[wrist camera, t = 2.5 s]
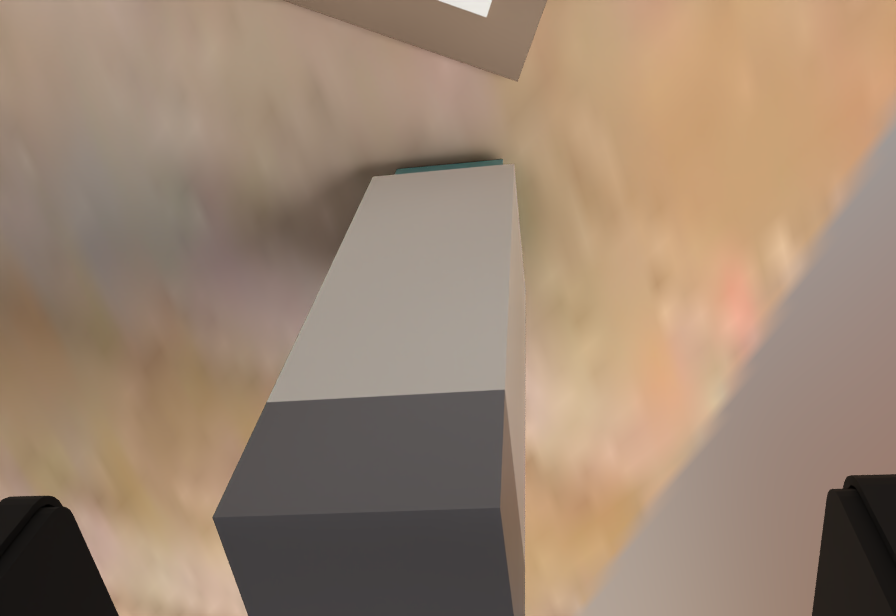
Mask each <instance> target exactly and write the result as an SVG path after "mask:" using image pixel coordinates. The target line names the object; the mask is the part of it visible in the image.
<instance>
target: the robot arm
mask: <svg viewBox="0 0 896 616" xmlns="http://www.w3.org/2000/svg"><path fill="white" fill-rule="evenodd" d="M0 616H119V615H118V613H117V611H116V609H115V606H114V604H113V602H112V600H111V598H110V595H109V593H108V591H107V589H106V586H105V584H104V582H103V580H102V578H101V575H100V573H99V571H98V569H97V567H96V564H95V562H94V560H93V558H92V556H91V553H90V551H89V549H88V547H87V544H86V542H85V540H84V538H83V536H82V533H81V531H80V529H79V527H78V525H77V522H76V520H75V518H74V516H73V514H72V512H71V511H70V510H69V509H68V508H66V507H63V506H62V504H61V503H60V501H59V500H58V499H56V498H55V497H53V496H20V497H8V498H5V499H3V500H2V501H1V502H0ZM812 616H896V474H891V475H851V476H848V477H847V478H846V480H845V482H844V486H843V489H831V490H830V491H829V492H828V495H827V501H826V509H825V517H824V524H823V533H822V540H821V548H820V556H819V564H818V573H817V580H816V588H815V596H814V605H813V612H812Z"/></svg>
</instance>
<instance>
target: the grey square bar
mask: <svg viewBox="0 0 896 616" xmlns="http://www.w3.org/2000/svg"><path fill="white" fill-rule="evenodd" d="M525 357H526V288H525V277H524V266H523V255H522V244H521V233H520V222H519V211H518V200H517V189H516V177H515V166H514V164H504V165H503V159H500V160H489V161H479V162H468V163H457V164H446V165H436V166H425V167H414V168H404V169H397V170H396V173H395V175H385V176H374V177H372V179H371V182H370V184H369V186H368V188H367V190H366V192H365V194H364V196H363V199H362V201H361V203H360V205H359V207H358V209H357V211H356V213H355V216H354V218H353V220H352V222H351V224H350V226H349V228H348V230H347V233H346V235H345V237H344V239H343V241H342V243H341V245H340V247H339V250H338V252H337V254H336V256H335V258H334V260H333V262H332V264H331V267H330V269H329V271H328V273H327V275H326V277H325V279H324V281H323V284H322V286H321V288H320V290H319V292H318V294H317V296H316V298H315V301H314V303H313V305H312V307H311V309H310V311H309V313H308V315H307V318H306V320H305V322H304V324H303V326H302V328H301V330H300V332H299V335H298V337H297V339H296V341H295V343H294V345H293V347H292V350H291V352H290V354H289V356H288V358H287V360H286V362H285V364H284V367H283V369H282V371H281V373H280V375H279V377H278V379H277V381H276V384H275V386H274V388H273V390H272V392H271V394H270V396H269V398H268V401H267V403H266V405H265V407H264V409H263V411H262V413H261V415H260V418H259V420H258V422H257V424H256V426H255V428H254V430H253V432H252V435H251V437H250V439H249V441H248V443H247V445H246V447H245V449H244V452H243V454H242V456H241V458H240V460H239V462H238V464H237V466H236V469H235V471H234V473H233V475H232V477H231V479H230V481H229V483H228V486H227V488H226V490H225V492H224V494H223V496H222V498H221V500H220V503H219V505H218V507H217V509H216V511H215V513H214V515H213V520H214V523H215V526H216V528H217V531H218V534H219V537H220V539H221V542H222V545H223V548H224V550H225V553H226V556H227V559H228V561H229V564H230V567H231V570H232V572H233V575H234V578H235V580H236V583H237V586H238V589H239V591H240V594H241V597H242V600H243V602H244V605H245V608H246V611H247V613H248V616H525Z"/></svg>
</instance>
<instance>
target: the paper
mask: <svg viewBox="0 0 896 616" xmlns="http://www.w3.org/2000/svg"><path fill="white" fill-rule="evenodd" d="M438 1H441V2H444V3H447V4H450V5H452V6H455V7H458V8H461V9H464V10H467V11H469V12H472V13H475V14H478V15H481V16H484V17H487V14H488V11H489V8H490V5H491V2H492V0H438Z"/></svg>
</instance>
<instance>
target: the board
mask: <svg viewBox="0 0 896 616" xmlns="http://www.w3.org/2000/svg"><path fill="white" fill-rule="evenodd" d="M284 1H287V2H290V3H293V4H295V5H298V6H301V7H304V8H307V9H310V10H313V11H316V12H318V13H321V14H324V15H327V16H330V17H333V18H336V19H339V20H341V21H344V22H347V23H350V24H353V25H356V26H359V27H362V28H365V29H367V30H370V31H373V32H376V33H379V34H382V35H385V36H388V37H390V38H393V39H396V40H399V41H402V42H405V43H408V44H411V45H413V46H416V47H419V48H422V49H425V50H428V51H431V52H434V53H437V54H439V55H442V56H445V57H448V58H451V59H454V60H457V61H460V62H462V63H465V64H468V65H471V66H474V67H477V68H480V69H483V70H486V71H488V72H491V73H494V74H497V75H500V76H503V77H506V78H509V79H511V80H514V81H517V82H518V79H519V76H520V73H521V71H522V68H523V65H524V62H525V60H526V57H527V54H528V51H529V49H530V46H531V43H532V40H533V38H534V35H535V32H536V29H537V27H538V24H539V21H540V18H541V16H542V13H543V10H544V7H545V5H546V2H547V0H492V2H491V5H490V8H489V11H488V14H487V17H484V16H481V15H478V14H475V13H472V12H469V11H467V10H464V9H461V8H458V7H455V6H452V5H450V4H447V3H444V2H441V1H438V0H284Z"/></svg>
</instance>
